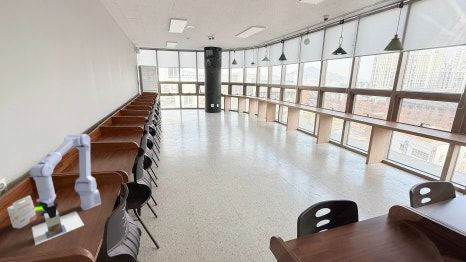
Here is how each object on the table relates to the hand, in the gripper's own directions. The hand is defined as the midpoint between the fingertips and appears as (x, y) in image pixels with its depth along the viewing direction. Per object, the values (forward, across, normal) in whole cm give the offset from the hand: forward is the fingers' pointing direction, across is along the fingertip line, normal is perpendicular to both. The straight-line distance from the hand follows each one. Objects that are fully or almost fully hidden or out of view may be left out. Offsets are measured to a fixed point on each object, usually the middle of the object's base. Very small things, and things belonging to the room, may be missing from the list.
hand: (51, 213), depth 106 cm
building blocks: (+11, -31, -3) cm, 33 cm away
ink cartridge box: (+11, -21, -10) cm, 26 cm away
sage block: (+5, 0, 0) cm, 5 cm away
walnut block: (+10, 0, 0) cm, 10 cm away
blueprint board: (+10, -4, +2) cm, 11 cm away
